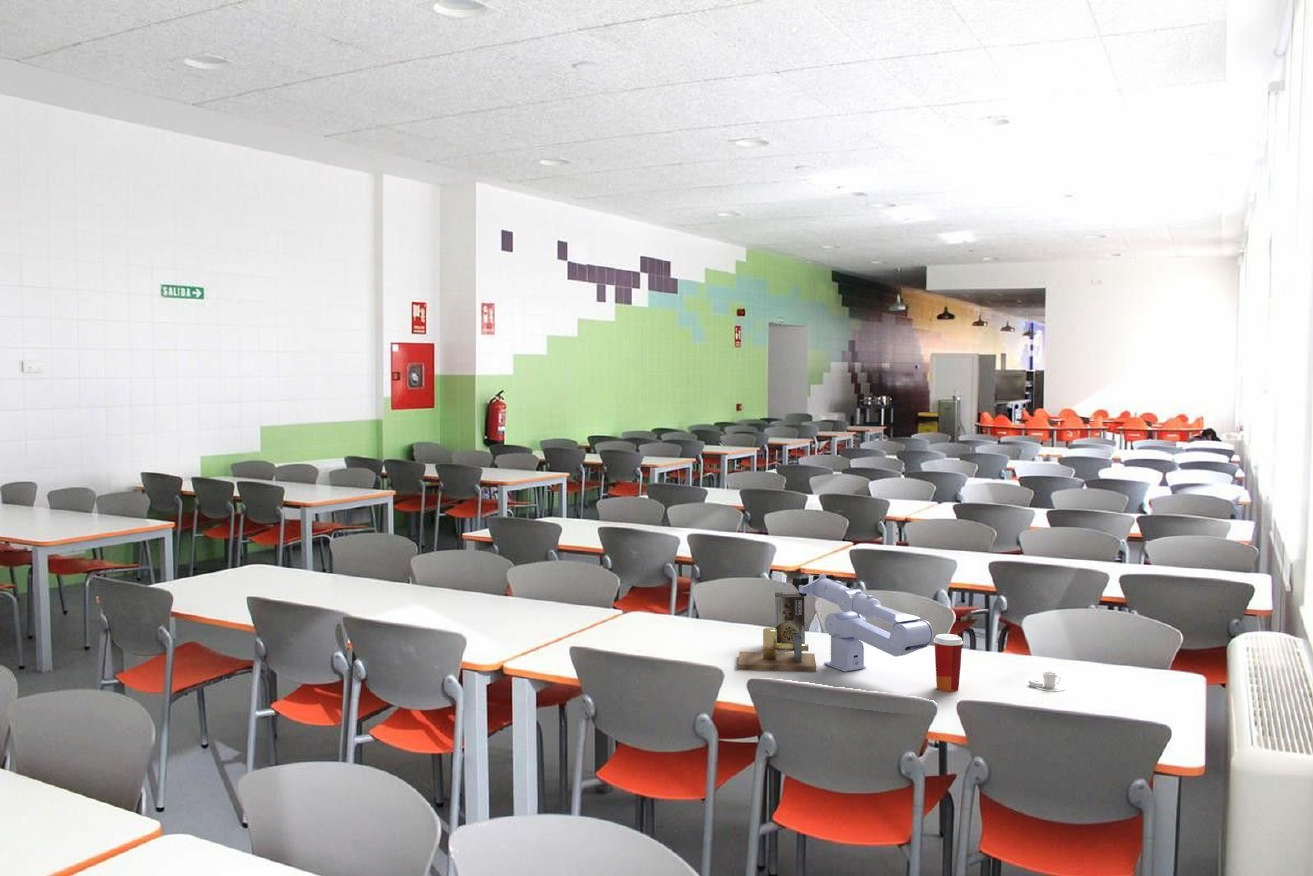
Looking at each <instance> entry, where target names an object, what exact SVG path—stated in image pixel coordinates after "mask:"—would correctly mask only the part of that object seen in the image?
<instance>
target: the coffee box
mask: <svg viewBox="0 0 1313 876" xmlns="http://www.w3.org/2000/svg"><path fill="white" fill-rule="evenodd" d="M805 597H806V596H804V597H802V596H800V594H799V592H775V593H774V617H775V618H774V620H775V621H774V622H775V623H774V624H775V628H774V629H777V643H782V644H794V632H795V633H801V637H802V644H806V643H805V642H806V635H805V634H806V631H805V629H806V628H805V624H806V622H805V619H806V618H805V617H806V616H805V615H806V614H805V611H806V610H805V609H806V608H805V604H806V603H805Z"/></svg>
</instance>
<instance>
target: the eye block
mask: <svg viewBox="0 0 1313 876" xmlns="http://www.w3.org/2000/svg"><path fill="white" fill-rule="evenodd" d="M737 670H742V671H743V670H744V671H745V670H746V671H771V672H772V671H774V672H776V671H777V672H779V671H780V672H781V671H782V672H810V673H811V672H812V673H813V672H815V673H816V672H817V661H816V657H815V653H808V652H806V653H804V652H803V651H802V637H801V633H795V632H794V651H793V652H777V658H776V659H764V658H763V651H739V654H738V662H737Z"/></svg>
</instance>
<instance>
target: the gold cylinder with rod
mask: <svg viewBox="0 0 1313 876" xmlns="http://www.w3.org/2000/svg"><path fill="white" fill-rule="evenodd" d="M778 651H783V652H785V651H786V652H787V651H788V652H790V651H791V652H794V644H782V643H777V629H775V628H774V627H765V628H763V629H762V652H763V658H764V659H776V658H777V653H778ZM802 652H809V643H805V644H802Z"/></svg>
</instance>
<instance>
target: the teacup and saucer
mask: <svg viewBox="0 0 1313 876" xmlns="http://www.w3.org/2000/svg"><path fill="white" fill-rule="evenodd" d="M1042 677H1043V682H1042V681H1041V680H1038V679H1034V678H1031V679H1029V680H1028V683H1029V685H1030V686H1032V687H1034V688H1035V689H1038V690H1042V691H1044V692H1045V691H1047V692H1062V691H1064V690H1066V687H1065V686H1064V685H1062V684H1060V681H1061V677H1060V675H1058V674H1056V673H1055V672H1053V671H1052V672H1051V671H1044V672H1043V674H1042ZM1057 677H1058V678H1059V680H1058V681H1057V682H1056V679H1057ZM1043 685H1044V687H1045V688H1047V689H1045V688H1042V687H1043ZM1056 686H1057V687H1059V689H1054V688H1055V687H1056ZM1060 687H1062V688H1060Z"/></svg>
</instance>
